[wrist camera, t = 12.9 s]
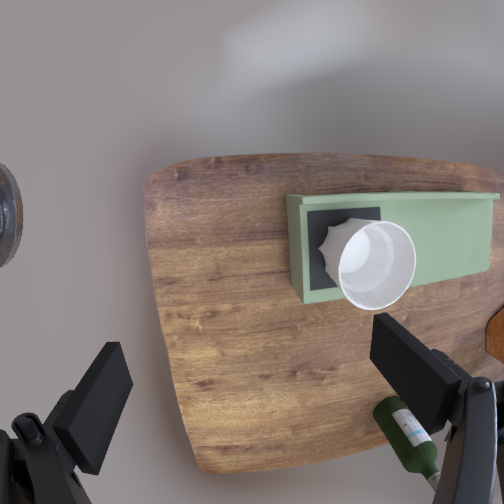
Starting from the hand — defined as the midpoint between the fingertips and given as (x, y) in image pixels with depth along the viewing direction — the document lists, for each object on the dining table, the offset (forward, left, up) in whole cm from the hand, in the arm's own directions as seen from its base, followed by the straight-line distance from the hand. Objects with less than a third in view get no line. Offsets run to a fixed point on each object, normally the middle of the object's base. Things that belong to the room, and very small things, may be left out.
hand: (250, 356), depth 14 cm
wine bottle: (+54, -10, -35) cm, 65 cm away
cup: (+12, +10, -26) cm, 30 cm away
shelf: (+21, +19, -35) cm, 45 cm away
